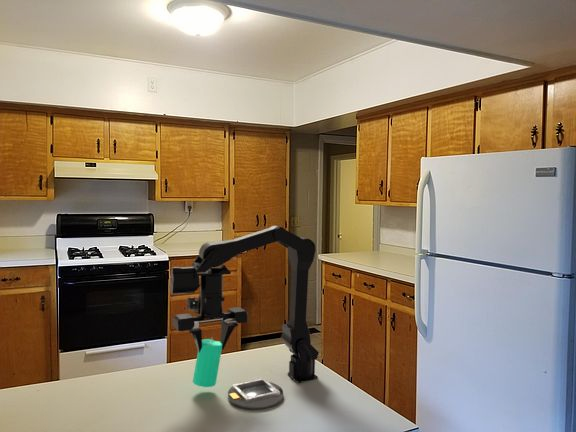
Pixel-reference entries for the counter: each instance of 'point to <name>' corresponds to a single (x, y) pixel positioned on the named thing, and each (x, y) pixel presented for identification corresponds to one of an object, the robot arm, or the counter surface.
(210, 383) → the candle
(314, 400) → the counter surface
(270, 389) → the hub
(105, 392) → the counter surface
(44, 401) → the counter surface
